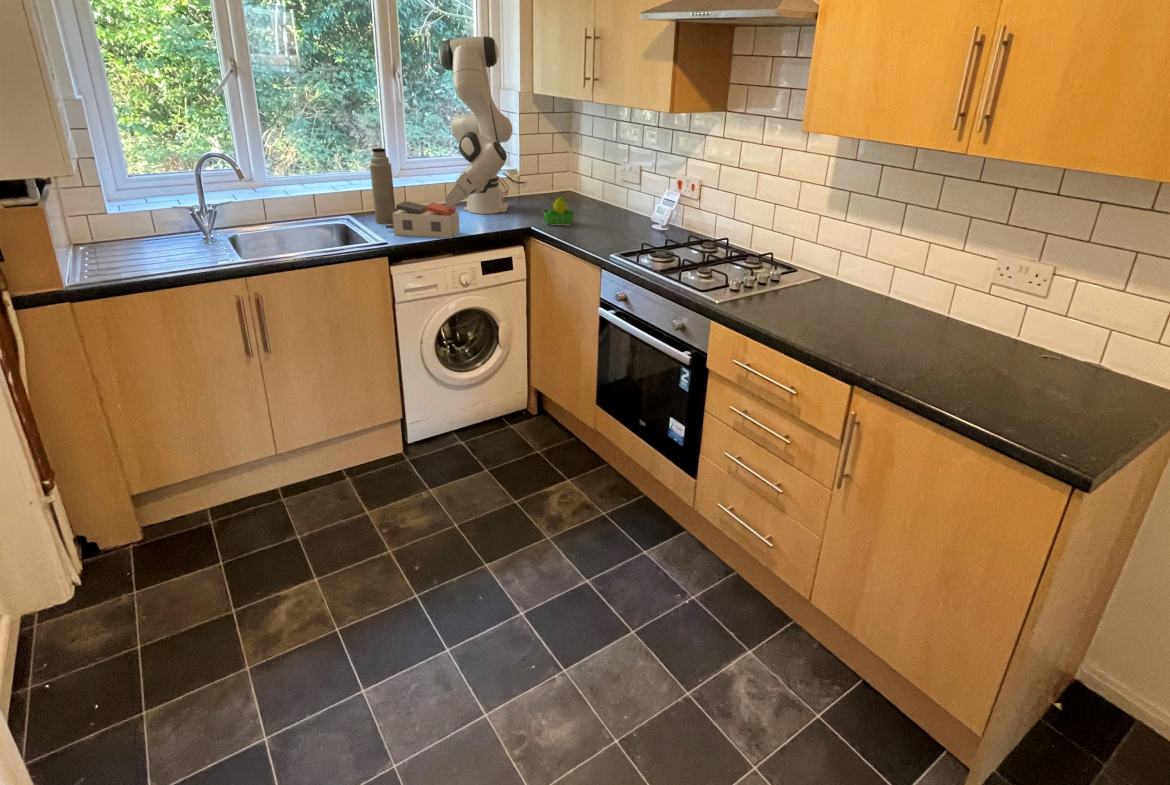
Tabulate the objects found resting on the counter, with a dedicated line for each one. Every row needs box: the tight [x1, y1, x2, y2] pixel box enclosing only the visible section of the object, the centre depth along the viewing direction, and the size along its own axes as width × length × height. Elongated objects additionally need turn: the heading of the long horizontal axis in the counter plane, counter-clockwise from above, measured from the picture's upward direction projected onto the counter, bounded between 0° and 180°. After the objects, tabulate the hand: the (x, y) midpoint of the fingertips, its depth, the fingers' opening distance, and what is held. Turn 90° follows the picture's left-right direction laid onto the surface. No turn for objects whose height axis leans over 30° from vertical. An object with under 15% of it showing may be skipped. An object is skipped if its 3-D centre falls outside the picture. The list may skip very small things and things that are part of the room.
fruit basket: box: [542, 196, 574, 225], centre depth 283 cm, size 11×9×11 cm
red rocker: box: [425, 201, 457, 216], centre depth 263 cm, size 8×9×2 cm
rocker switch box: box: [385, 209, 461, 239], centre depth 267 cm, size 10×27×8 cm, turn 81°
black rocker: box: [395, 200, 426, 214], centre depth 265 cm, size 8×9×2 cm
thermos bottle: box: [369, 147, 397, 225], centre depth 279 cm, size 8×8×28 cm
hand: (447, 207), depth 262 cm, fingers closed, pressing on red rocker
